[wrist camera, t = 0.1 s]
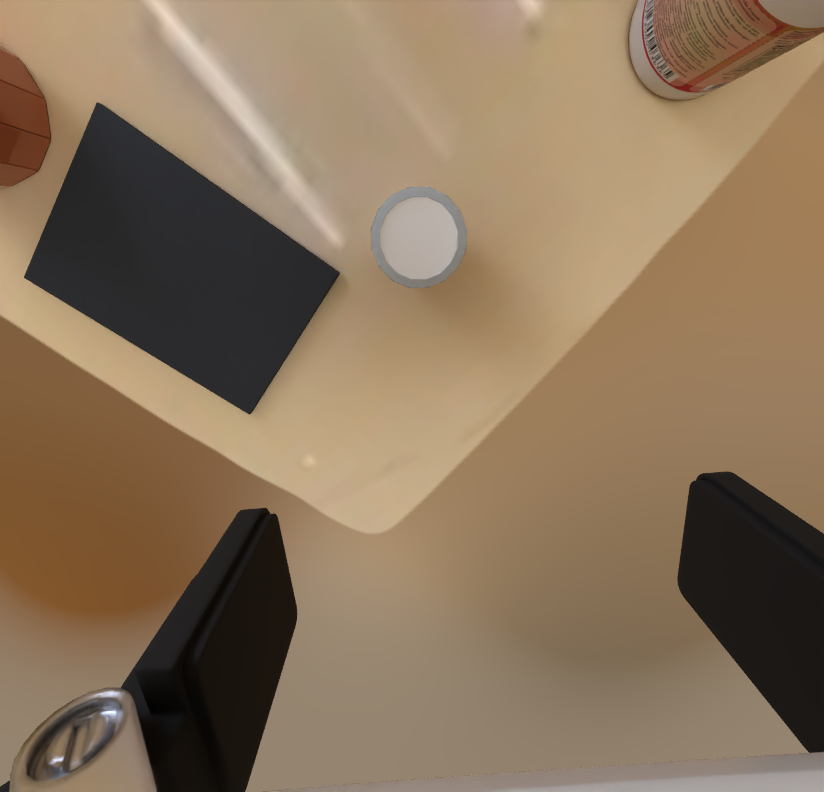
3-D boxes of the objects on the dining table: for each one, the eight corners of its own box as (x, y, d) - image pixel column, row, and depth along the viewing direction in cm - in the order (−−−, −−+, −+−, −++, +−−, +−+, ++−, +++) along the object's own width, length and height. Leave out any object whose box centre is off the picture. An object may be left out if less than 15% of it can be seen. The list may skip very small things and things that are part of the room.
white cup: (405, 298, 39) (404, 307, 32) (361, 229, 37) (350, 223, 30) (471, 254, 38) (485, 254, 31) (429, 180, 36) (434, 163, 29)
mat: (101, 104, 34) (96, 101, 33) (340, 272, 38) (339, 273, 37) (29, 277, 38) (23, 277, 37) (251, 412, 42) (249, 414, 41)
